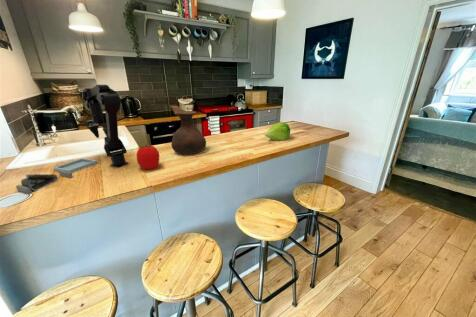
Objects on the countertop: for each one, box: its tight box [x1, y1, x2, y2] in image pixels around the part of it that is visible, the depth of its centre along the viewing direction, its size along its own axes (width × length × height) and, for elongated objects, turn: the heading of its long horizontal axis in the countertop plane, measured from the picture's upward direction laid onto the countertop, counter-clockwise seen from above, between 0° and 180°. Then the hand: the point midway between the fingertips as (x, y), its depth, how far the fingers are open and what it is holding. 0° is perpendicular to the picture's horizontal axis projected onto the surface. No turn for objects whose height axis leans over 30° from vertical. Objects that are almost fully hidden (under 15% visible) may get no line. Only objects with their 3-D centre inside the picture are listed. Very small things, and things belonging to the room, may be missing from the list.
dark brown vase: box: [169, 105, 207, 156], centre depth 127 cm, size 22×22×30 cm
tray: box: [53, 157, 99, 174], centre depth 110 cm, size 12×15×2 cm
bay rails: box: [15, 171, 74, 195], centre depth 92 cm, size 8×17×3 cm, turn 159°
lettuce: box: [264, 121, 291, 142], centre depth 151 cm, size 15×22×15 cm, turn 115°
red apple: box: [136, 143, 160, 170], centre depth 107 cm, size 12×12×13 cm
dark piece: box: [20, 173, 59, 192], centre depth 90 cm, size 10×7×12 cm
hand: (103, 138), depth 119 cm, fingers open, 9 cm apart
